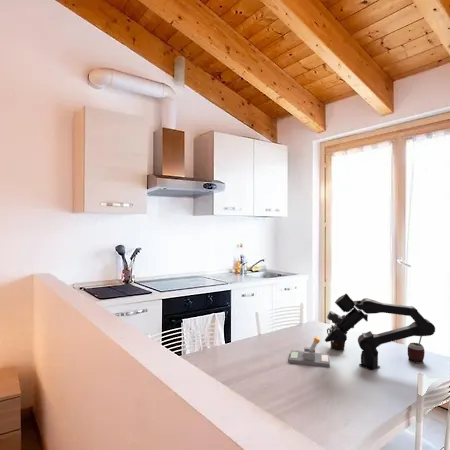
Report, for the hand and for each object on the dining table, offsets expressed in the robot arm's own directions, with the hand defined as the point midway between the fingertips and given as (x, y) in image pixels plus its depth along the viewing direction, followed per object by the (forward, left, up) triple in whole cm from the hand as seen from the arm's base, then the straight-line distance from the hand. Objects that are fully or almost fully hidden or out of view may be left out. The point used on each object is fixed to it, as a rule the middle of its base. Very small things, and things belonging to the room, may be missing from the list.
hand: (325, 341), depth 164 cm
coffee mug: (+10, -19, -10) cm, 24 cm away
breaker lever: (+5, +5, -7) cm, 10 cm away
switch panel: (+5, +5, -10) cm, 12 cm away
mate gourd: (-21, -38, -10) cm, 45 cm away
